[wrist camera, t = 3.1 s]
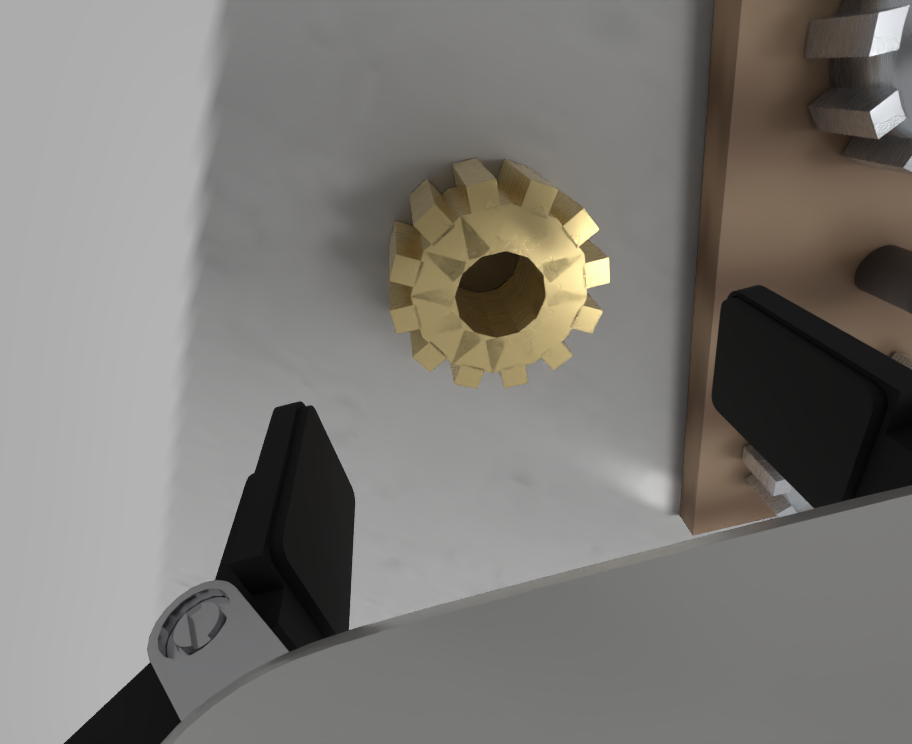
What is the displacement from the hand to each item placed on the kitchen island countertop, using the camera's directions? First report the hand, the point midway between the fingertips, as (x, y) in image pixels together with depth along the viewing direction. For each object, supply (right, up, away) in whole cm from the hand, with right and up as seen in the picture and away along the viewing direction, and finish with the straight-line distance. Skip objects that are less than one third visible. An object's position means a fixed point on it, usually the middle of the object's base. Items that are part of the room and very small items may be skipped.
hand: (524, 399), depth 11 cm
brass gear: (0, +5, +8) cm, 10 cm away
